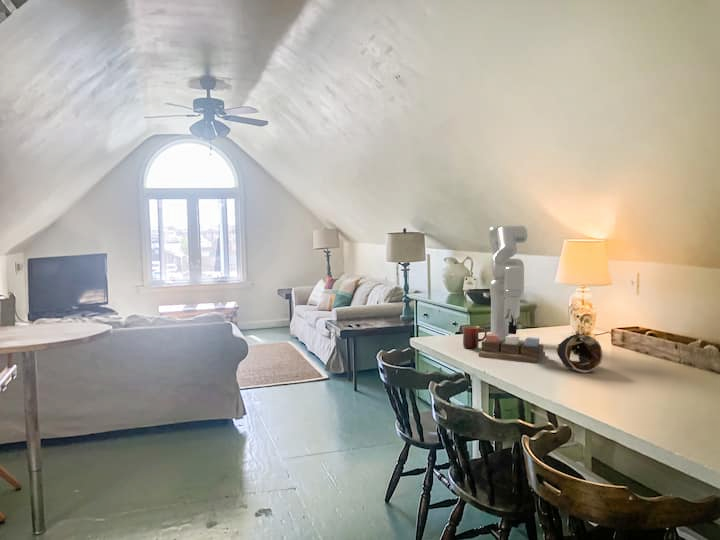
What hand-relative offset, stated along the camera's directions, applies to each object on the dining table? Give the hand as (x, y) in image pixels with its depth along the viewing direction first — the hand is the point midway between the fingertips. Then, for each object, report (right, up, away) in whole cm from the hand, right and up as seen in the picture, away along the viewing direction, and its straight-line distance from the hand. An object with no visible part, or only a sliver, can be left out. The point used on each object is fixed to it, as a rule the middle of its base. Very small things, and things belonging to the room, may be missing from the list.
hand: (512, 333), depth 250 cm
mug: (-14, -9, +19) cm, 25 cm away
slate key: (+8, -6, -4) cm, 10 cm away
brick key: (-8, -5, +5) cm, 11 cm away
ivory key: (0, -5, 0) cm, 5 cm away
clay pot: (+22, -12, -18) cm, 30 cm away
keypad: (0, -10, +1) cm, 10 cm away
